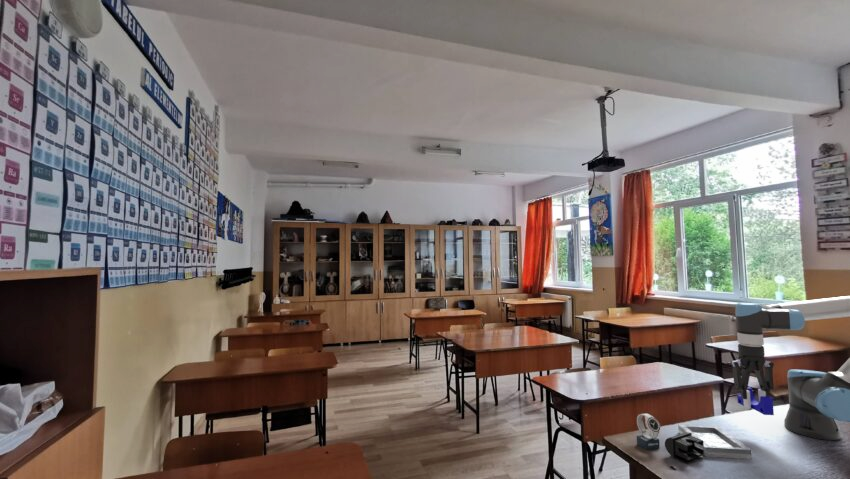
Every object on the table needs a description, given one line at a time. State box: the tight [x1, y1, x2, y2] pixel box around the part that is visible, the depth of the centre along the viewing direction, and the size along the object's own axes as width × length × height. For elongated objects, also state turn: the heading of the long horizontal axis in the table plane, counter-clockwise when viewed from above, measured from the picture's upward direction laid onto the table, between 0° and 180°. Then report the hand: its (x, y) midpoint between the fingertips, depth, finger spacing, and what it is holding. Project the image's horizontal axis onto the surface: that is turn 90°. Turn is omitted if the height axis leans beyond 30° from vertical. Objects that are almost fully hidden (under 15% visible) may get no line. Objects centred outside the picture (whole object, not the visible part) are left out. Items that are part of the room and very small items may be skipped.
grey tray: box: [677, 424, 753, 460], centre depth 137 cm, size 14×18×3 cm
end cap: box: [664, 432, 705, 465], centre depth 129 cm, size 10×7×7 cm
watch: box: [636, 412, 661, 451], centre depth 137 cm, size 6×8×11 cm
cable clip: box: [736, 386, 775, 416], centre depth 143 cm, size 12×4×6 cm, turn 172°
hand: (755, 407), depth 143 cm, fingers closed on cable clip, 4 cm apart
